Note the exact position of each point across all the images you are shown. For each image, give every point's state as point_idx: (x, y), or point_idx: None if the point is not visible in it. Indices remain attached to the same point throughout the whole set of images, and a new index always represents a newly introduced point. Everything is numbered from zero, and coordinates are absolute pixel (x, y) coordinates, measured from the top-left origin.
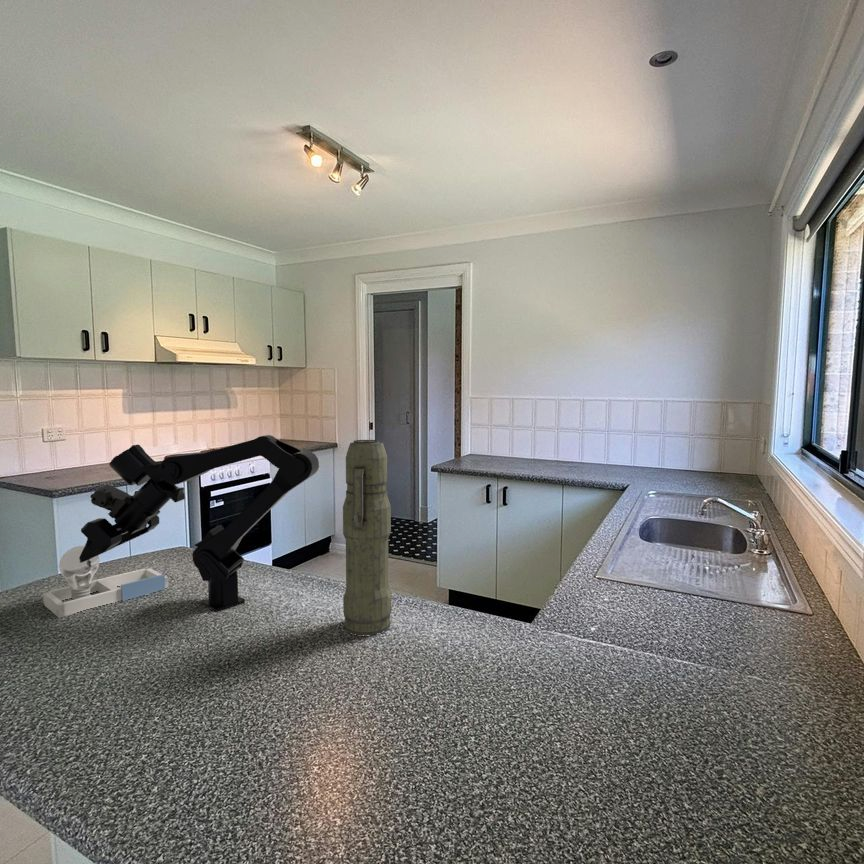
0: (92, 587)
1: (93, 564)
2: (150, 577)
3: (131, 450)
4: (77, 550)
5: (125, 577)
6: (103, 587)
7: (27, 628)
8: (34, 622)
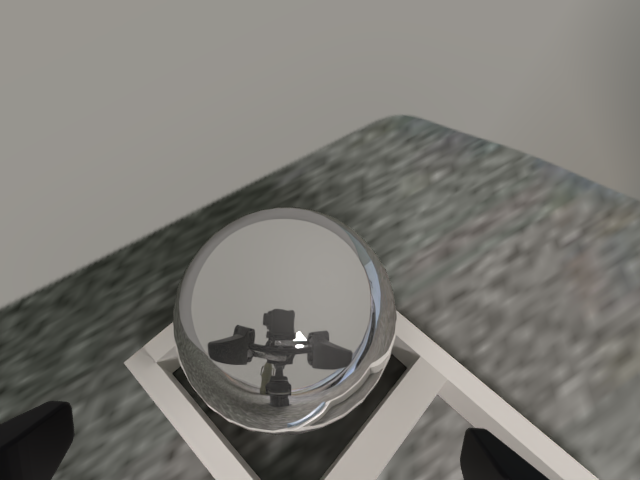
0: (399, 348)
1: (248, 428)
2: None
3: None
4: (222, 291)
5: (521, 452)
6: (367, 423)
7: (73, 319)
8: (125, 311)
